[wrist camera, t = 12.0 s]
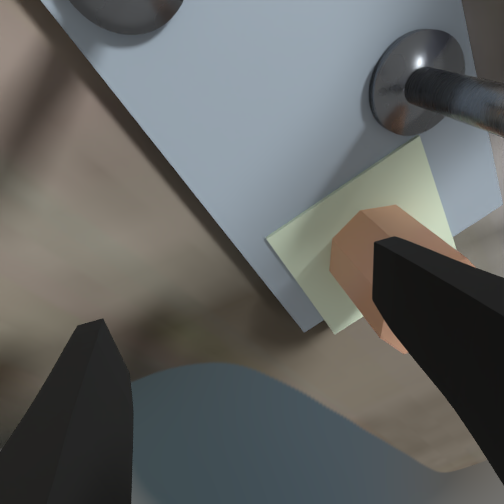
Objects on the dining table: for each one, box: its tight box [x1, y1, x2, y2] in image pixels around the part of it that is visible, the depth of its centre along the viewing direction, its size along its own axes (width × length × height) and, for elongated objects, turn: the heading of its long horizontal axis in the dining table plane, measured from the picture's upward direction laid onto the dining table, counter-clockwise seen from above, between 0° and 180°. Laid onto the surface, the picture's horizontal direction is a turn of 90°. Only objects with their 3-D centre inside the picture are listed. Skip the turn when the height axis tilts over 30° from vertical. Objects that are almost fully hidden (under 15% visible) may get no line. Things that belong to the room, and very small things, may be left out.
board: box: [41, 0, 503, 332], centre depth 16 cm, size 30×14×1 cm, turn 32°
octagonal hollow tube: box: [329, 205, 475, 354], centre depth 20 cm, size 5×5×6 cm
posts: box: [69, 0, 504, 138], centre depth 12 cm, size 17×4×9 cm, turn 70°
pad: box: [265, 135, 456, 334], centre depth 23 cm, size 9×9×1 cm
